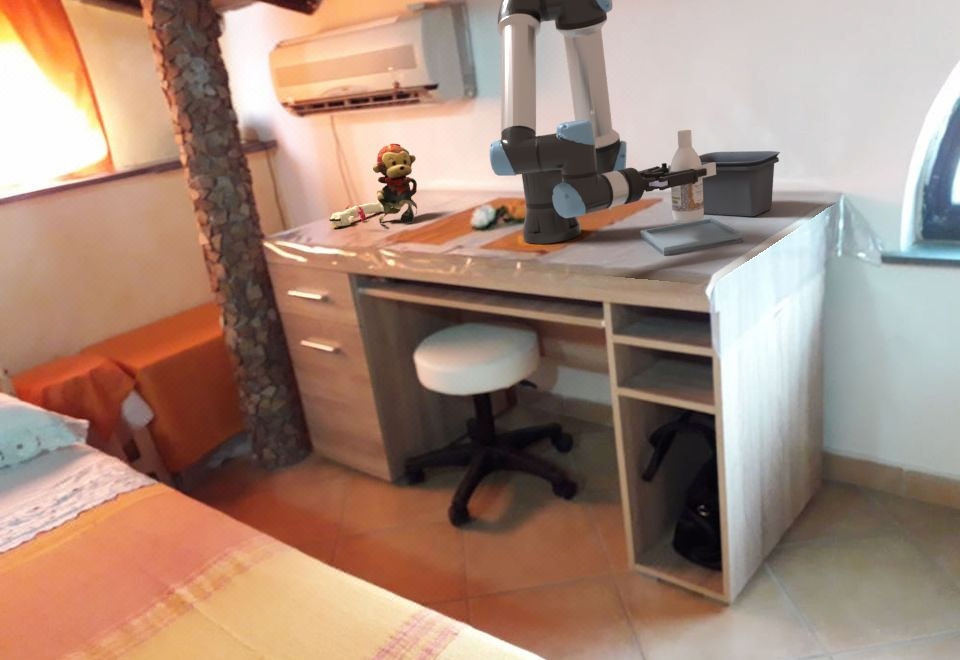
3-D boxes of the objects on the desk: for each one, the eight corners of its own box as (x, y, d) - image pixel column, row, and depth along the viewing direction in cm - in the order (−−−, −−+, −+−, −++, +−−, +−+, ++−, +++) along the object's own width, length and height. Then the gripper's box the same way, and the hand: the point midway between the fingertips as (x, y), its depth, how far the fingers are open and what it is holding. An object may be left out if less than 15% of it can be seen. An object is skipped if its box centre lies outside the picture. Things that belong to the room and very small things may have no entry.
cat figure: (376, 214, 277) (322, 227, 259) (373, 189, 274) (318, 201, 256) (396, 215, 271) (342, 228, 253) (393, 189, 268) (338, 201, 250)
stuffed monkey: (362, 223, 250) (359, 143, 247) (401, 222, 262) (399, 146, 259) (393, 223, 240) (390, 139, 237) (432, 222, 252) (430, 143, 249)
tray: (640, 237, 190) (640, 230, 189) (712, 225, 191) (712, 218, 190) (664, 255, 173) (663, 247, 173) (742, 241, 174) (742, 234, 173)
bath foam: (691, 223, 175) (687, 132, 169) (666, 221, 180) (661, 133, 174) (710, 216, 179) (707, 127, 173) (685, 214, 184) (681, 128, 178)
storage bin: (682, 216, 204) (679, 161, 199) (716, 201, 213) (713, 149, 208) (757, 221, 188) (756, 162, 183) (790, 205, 197) (789, 148, 192)
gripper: (596, 200, 180) (676, 180, 188) (649, 209, 162) (734, 187, 171) (592, 167, 177) (674, 148, 185) (646, 173, 160) (733, 152, 168)
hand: (702, 167), depth 178 cm, fingers closed on bath foam, 7 cm apart
